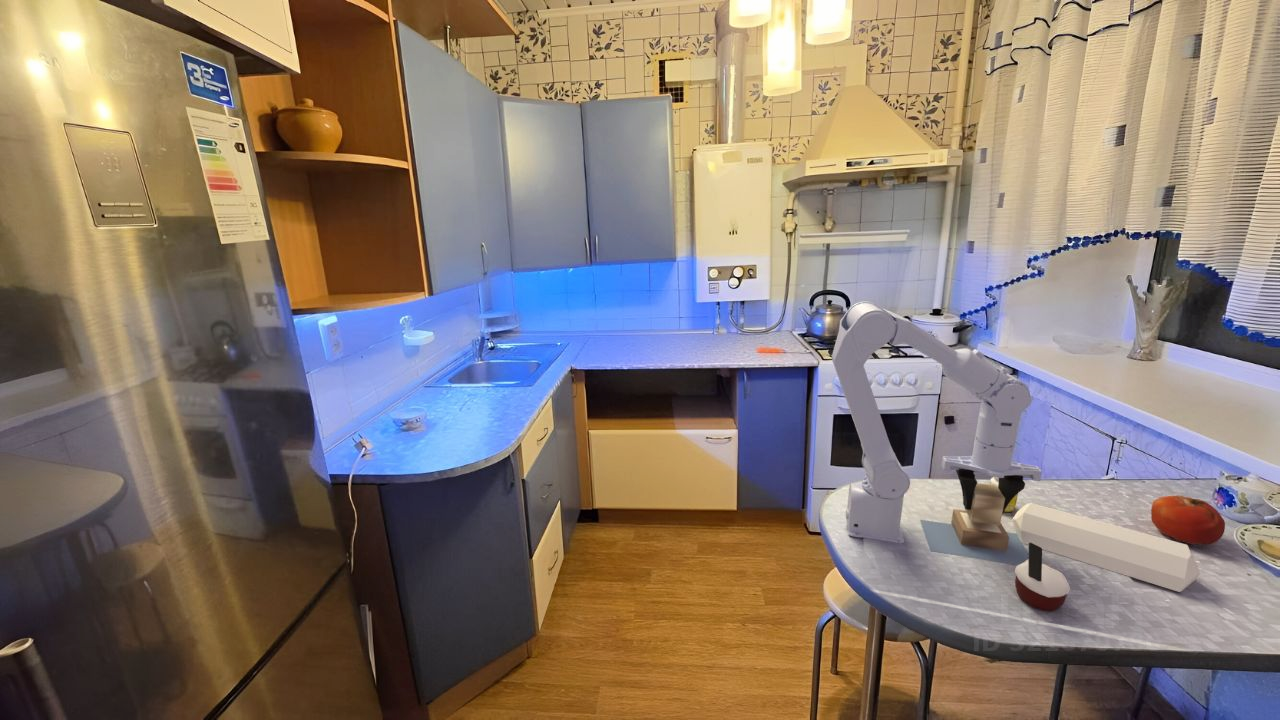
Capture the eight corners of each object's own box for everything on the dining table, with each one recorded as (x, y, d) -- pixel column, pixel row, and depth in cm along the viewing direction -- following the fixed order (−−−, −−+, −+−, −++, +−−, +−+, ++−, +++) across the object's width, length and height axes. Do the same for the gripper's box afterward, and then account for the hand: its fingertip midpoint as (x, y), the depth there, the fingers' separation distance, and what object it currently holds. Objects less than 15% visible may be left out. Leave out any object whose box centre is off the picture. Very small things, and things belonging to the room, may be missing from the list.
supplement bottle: (1018, 517, 98) (1026, 479, 96) (992, 515, 99) (999, 477, 97) (1006, 504, 102) (1013, 467, 100) (981, 502, 103) (987, 466, 101)
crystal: (1196, 550, 82) (1016, 501, 97) (1209, 550, 76) (1016, 498, 91) (1189, 595, 81) (1008, 538, 96) (1201, 599, 75) (1008, 538, 90)
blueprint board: (930, 553, 88) (930, 550, 88) (919, 521, 98) (919, 519, 97) (1037, 570, 83) (1038, 568, 83) (1015, 535, 92) (1016, 533, 92)
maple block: (971, 521, 89) (975, 494, 88) (964, 508, 93) (968, 482, 92) (999, 525, 88) (1005, 498, 86) (991, 512, 92) (996, 485, 90)
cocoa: (1043, 587, 80) (1058, 521, 77) (1081, 616, 74) (1098, 545, 71) (990, 592, 79) (1003, 524, 76) (1023, 621, 73) (1039, 549, 70)
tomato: (1140, 516, 97) (1150, 480, 95) (1208, 531, 92) (1220, 493, 90) (1152, 542, 90) (1163, 503, 87) (1227, 559, 85) (1241, 519, 82)
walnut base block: (960, 544, 90) (963, 529, 89) (951, 522, 96) (953, 508, 95) (1006, 551, 88) (1009, 536, 87) (993, 528, 94) (996, 514, 93)
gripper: (953, 445, 85) (942, 514, 89) (1055, 455, 81) (1039, 528, 84) (943, 429, 92) (933, 494, 95) (1037, 438, 87) (1023, 506, 91)
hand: (982, 509), depth 90 cm, fingers closed on maple block, 4 cm apart
